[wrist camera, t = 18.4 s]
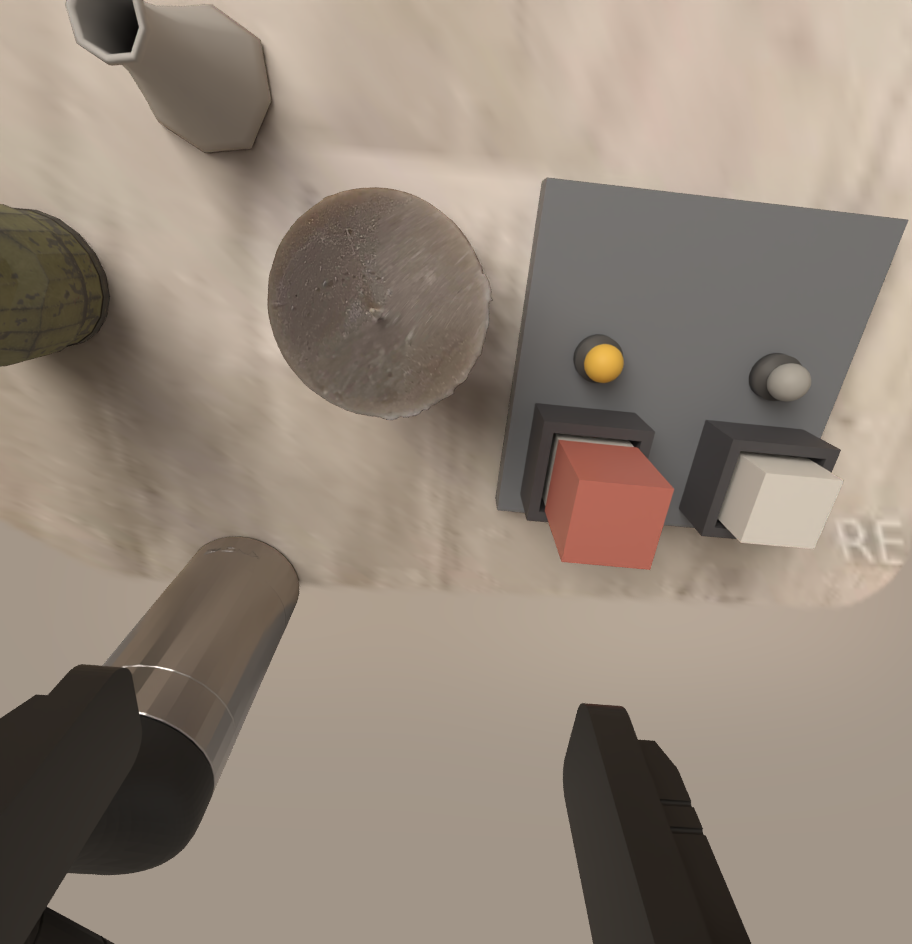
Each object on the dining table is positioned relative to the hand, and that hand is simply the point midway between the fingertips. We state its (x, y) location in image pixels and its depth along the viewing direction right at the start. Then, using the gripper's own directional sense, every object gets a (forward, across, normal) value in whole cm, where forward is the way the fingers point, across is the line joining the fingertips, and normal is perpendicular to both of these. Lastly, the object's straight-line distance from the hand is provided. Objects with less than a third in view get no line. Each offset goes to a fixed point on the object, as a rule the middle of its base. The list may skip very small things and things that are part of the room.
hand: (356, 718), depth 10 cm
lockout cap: (+24, -11, +5) cm, 27 cm away
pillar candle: (+30, +2, -5) cm, 31 cm away
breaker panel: (+30, -17, -1) cm, 35 cm away
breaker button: (+26, -23, +5) cm, 35 cm away
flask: (+30, +14, -15) cm, 37 cm away
